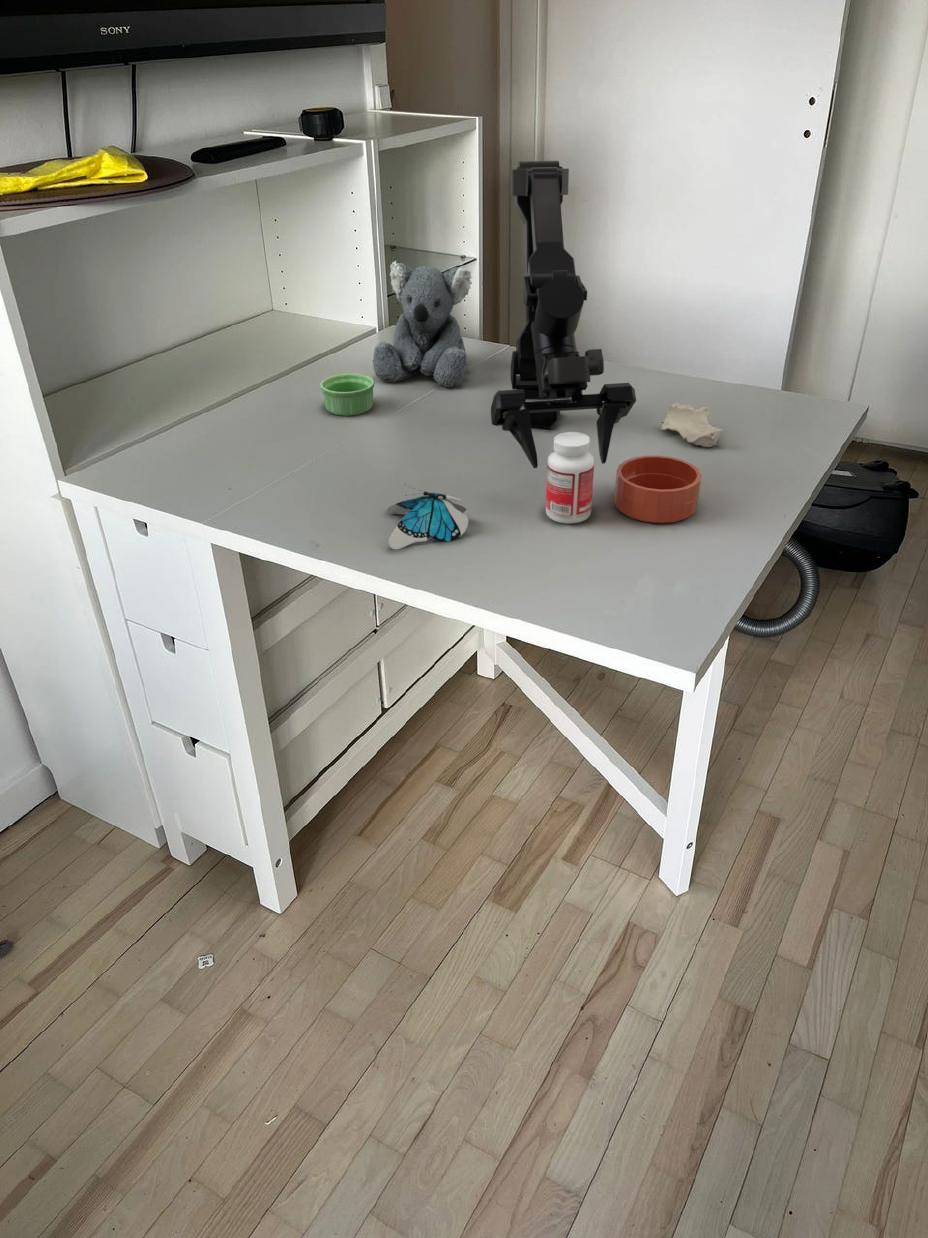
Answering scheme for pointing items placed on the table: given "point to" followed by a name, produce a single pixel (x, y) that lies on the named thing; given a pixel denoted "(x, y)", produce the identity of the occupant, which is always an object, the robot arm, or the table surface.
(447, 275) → the koala plush
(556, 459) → the pill bottle
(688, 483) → the bowl
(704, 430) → the coral
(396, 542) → the decorative butterfly
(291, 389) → the table surface
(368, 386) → the ramekin
